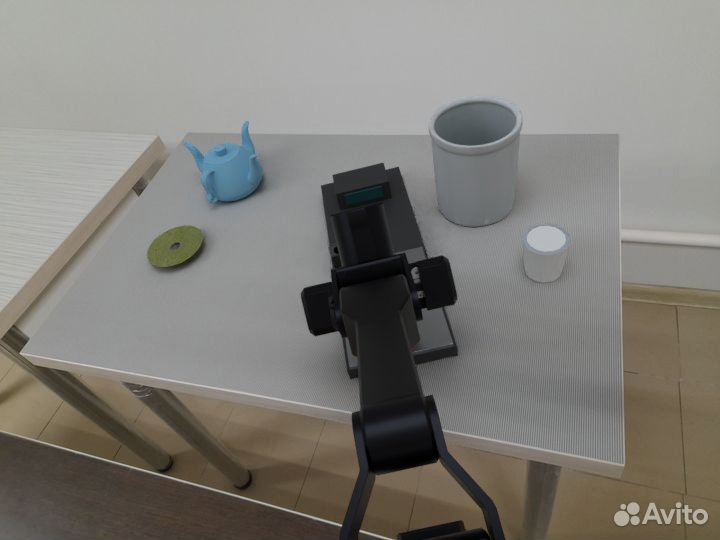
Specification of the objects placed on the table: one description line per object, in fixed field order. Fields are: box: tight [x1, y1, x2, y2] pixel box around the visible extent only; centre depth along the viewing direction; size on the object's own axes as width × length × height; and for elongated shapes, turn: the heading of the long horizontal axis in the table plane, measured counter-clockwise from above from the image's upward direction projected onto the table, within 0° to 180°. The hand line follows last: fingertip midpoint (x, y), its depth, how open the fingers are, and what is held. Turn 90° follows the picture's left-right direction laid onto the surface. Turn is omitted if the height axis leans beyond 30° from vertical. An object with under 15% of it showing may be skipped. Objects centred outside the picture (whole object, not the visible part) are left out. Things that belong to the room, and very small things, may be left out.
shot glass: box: [521, 222, 572, 284], centre depth 80 cm, size 7×7×7 cm
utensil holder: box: [428, 94, 524, 228], centre depth 90 cm, size 15×15×18 cm
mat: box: [146, 225, 204, 268], centre depth 102 cm, size 11×11×2 cm
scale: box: [320, 162, 459, 380], centre depth 89 cm, size 44×16×6 cm, turn 8°
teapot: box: [182, 120, 264, 204], centre depth 111 cm, size 15×15×10 cm
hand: (378, 290), depth 73 cm, fingers closed on cup, 7 cm apart
